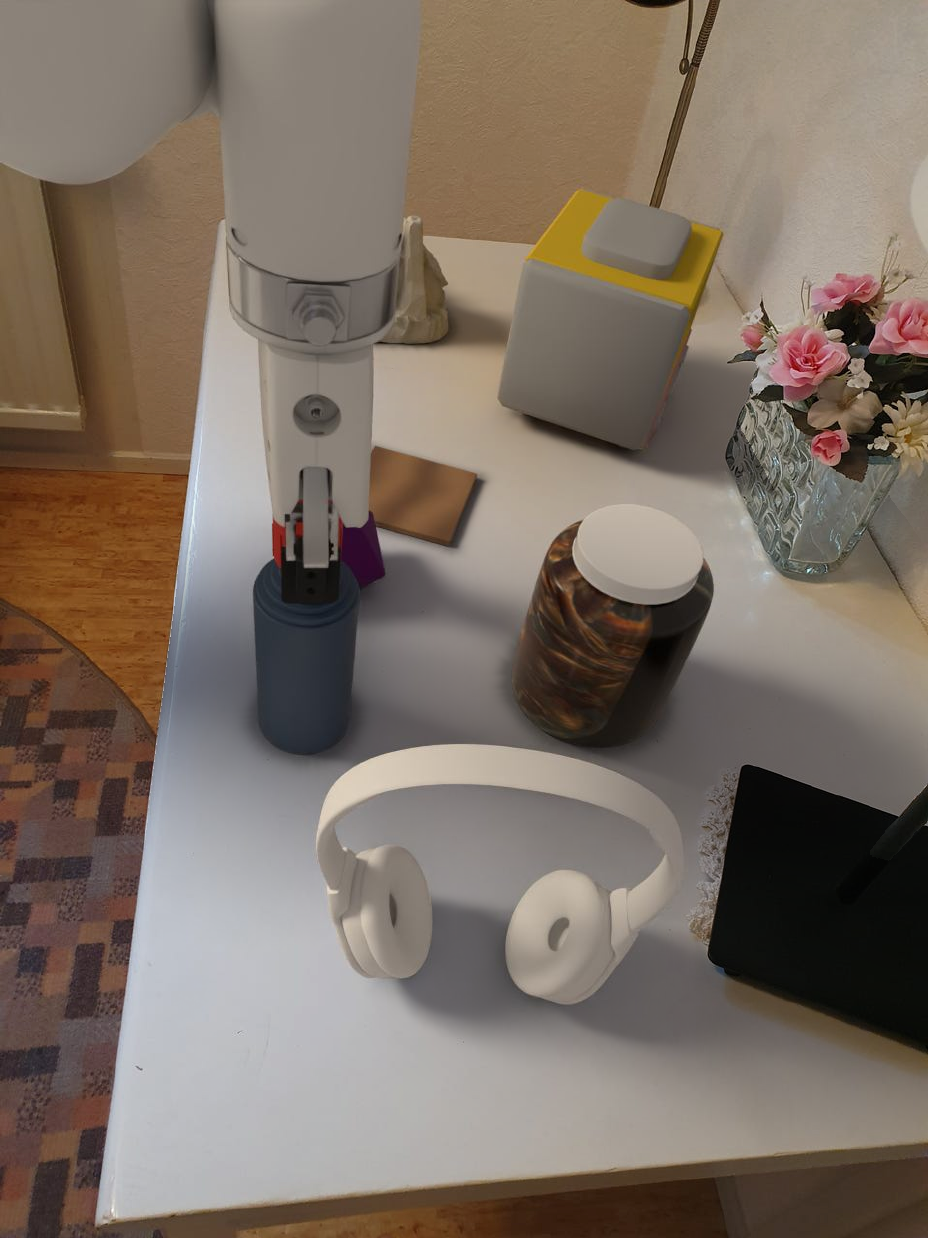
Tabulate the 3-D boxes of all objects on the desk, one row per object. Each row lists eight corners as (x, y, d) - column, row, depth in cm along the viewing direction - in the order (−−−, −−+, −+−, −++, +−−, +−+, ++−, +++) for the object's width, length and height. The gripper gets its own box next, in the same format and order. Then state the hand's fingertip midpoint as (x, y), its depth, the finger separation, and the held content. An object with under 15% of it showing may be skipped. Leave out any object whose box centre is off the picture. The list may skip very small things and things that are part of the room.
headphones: (324, 874, 58) (336, 674, 43) (612, 915, 59) (720, 732, 44) (302, 989, 53) (306, 807, 38) (616, 1031, 54) (738, 869, 39)
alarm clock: (640, 473, 90) (702, 299, 77) (489, 422, 93) (523, 244, 79) (678, 376, 103) (737, 213, 90) (545, 333, 106) (583, 168, 92)
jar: (629, 777, 66) (696, 639, 55) (485, 703, 69) (522, 558, 58) (681, 671, 74) (750, 531, 63) (550, 608, 76) (593, 463, 65)
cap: (322, 524, 56) (324, 482, 53) (352, 566, 54) (355, 524, 51) (262, 542, 54) (261, 499, 52) (290, 586, 52) (290, 543, 50)
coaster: (338, 515, 80) (338, 510, 80) (374, 450, 87) (374, 445, 87) (449, 546, 80) (449, 541, 79) (476, 478, 86) (477, 473, 86)
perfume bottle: (288, 610, 72) (287, 419, 59) (280, 544, 77) (278, 353, 64) (383, 604, 74) (403, 418, 61) (370, 540, 79) (385, 354, 66)
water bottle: (243, 739, 64) (230, 543, 50) (278, 671, 68) (276, 473, 55) (331, 765, 63) (343, 574, 50) (361, 695, 68) (379, 502, 54)
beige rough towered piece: (450, 349, 100) (463, 207, 90) (296, 339, 99) (292, 193, 88) (446, 286, 111) (457, 154, 101) (308, 276, 110) (305, 140, 99)
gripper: (419, 391, 37) (384, 678, 50) (380, 201, 48) (360, 478, 61) (224, 385, 35) (242, 683, 49) (230, 191, 46) (243, 477, 60)
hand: (308, 566), depth 55 cm, fingers open, 4 cm apart
